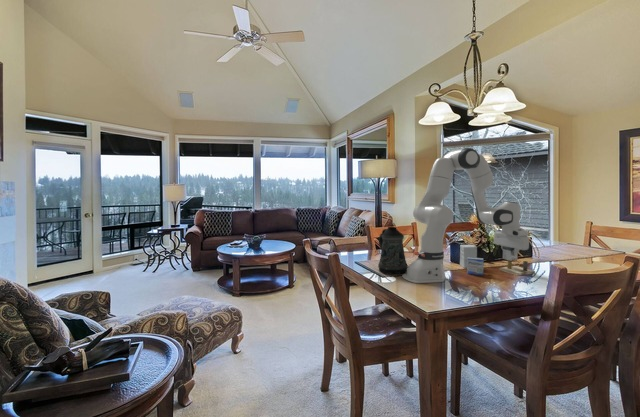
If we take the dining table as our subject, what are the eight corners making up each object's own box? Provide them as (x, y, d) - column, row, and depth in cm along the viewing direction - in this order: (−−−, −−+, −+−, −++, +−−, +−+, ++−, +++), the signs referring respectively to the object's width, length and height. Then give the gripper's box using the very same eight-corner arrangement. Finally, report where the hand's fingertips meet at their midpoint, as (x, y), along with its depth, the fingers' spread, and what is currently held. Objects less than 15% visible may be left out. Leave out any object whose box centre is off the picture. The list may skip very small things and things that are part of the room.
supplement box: (472, 265, 196) (472, 244, 195) (476, 268, 189) (477, 246, 188) (459, 265, 197) (459, 244, 196) (463, 268, 190) (464, 246, 189)
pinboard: (518, 275, 174) (518, 264, 173) (499, 269, 185) (499, 259, 184) (534, 273, 177) (535, 262, 177) (515, 267, 189) (516, 257, 188)
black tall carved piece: (400, 276, 175) (400, 230, 173) (368, 271, 187) (368, 228, 185) (412, 269, 188) (412, 227, 186) (381, 265, 200) (381, 224, 198)
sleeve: (510, 260, 179) (510, 248, 179) (502, 258, 185) (502, 246, 184) (517, 259, 181) (518, 247, 180) (509, 257, 186) (509, 245, 186)
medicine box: (466, 273, 178) (467, 258, 178) (467, 271, 182) (467, 256, 182) (483, 275, 175) (483, 259, 174) (483, 273, 179) (483, 258, 178)
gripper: (491, 228, 190) (490, 251, 191) (522, 233, 171) (521, 259, 172) (499, 227, 192) (499, 250, 193) (531, 232, 173) (530, 258, 174)
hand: (509, 254), depth 183 cm, fingers closed on sleeve, 5 cm apart
